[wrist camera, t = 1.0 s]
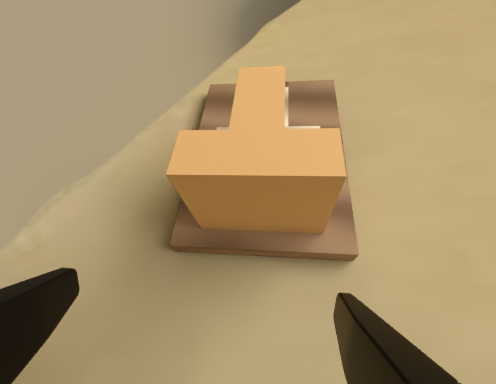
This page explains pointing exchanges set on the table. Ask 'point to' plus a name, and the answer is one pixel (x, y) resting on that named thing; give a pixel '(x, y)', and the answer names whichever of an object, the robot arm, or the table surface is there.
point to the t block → (259, 165)
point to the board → (275, 243)
